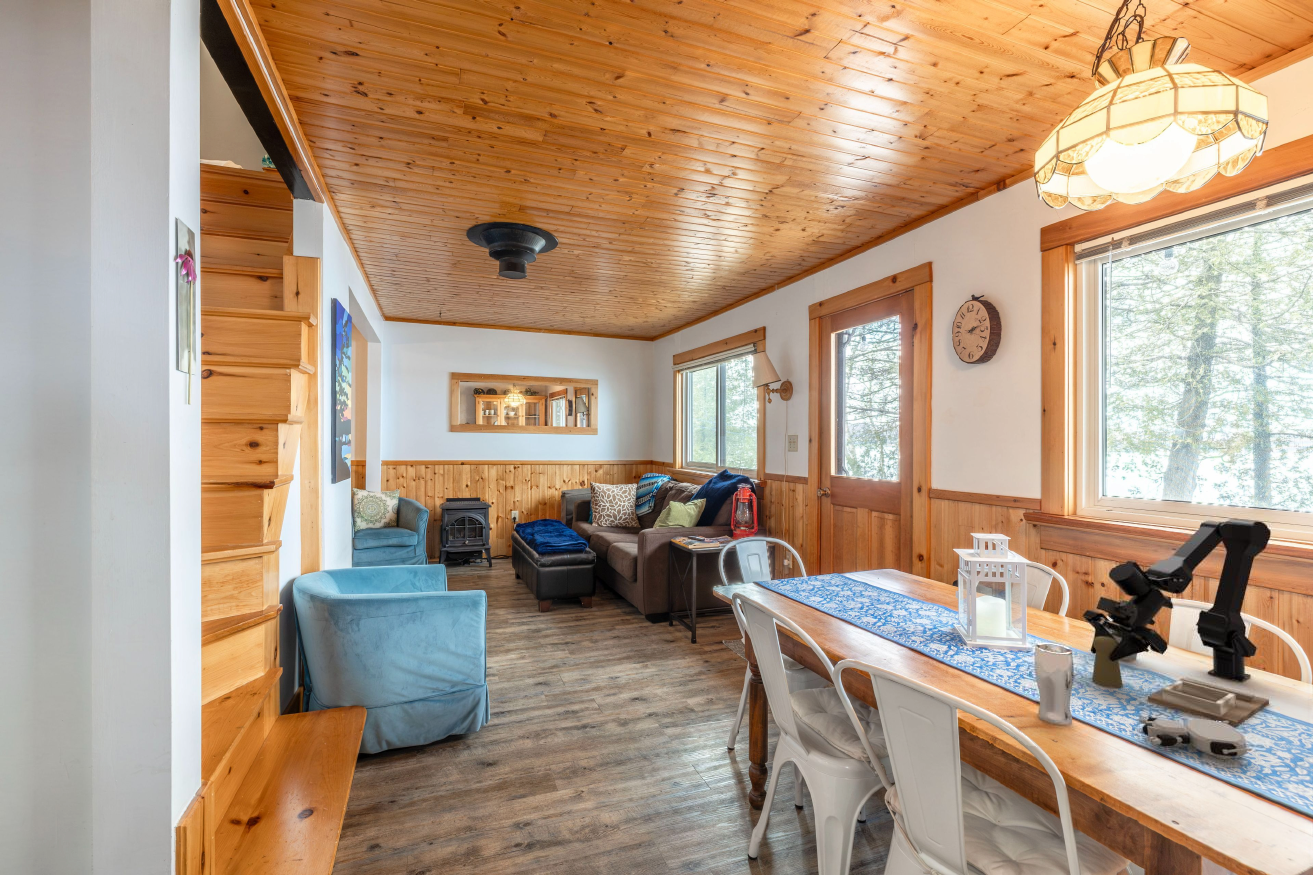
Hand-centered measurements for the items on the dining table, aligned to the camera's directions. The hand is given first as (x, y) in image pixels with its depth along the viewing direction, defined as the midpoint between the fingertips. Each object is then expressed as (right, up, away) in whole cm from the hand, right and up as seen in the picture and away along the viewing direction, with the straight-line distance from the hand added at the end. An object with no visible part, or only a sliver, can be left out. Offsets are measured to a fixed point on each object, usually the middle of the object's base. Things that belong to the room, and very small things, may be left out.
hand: (1101, 656), depth 146 cm
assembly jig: (+15, -6, -11) cm, 20 cm away
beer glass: (-24, -7, -19) cm, 31 cm away
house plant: (+18, -7, +18) cm, 27 cm away
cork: (+1, -7, 0) cm, 7 cm away
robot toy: (-5, -7, -31) cm, 32 cm away
